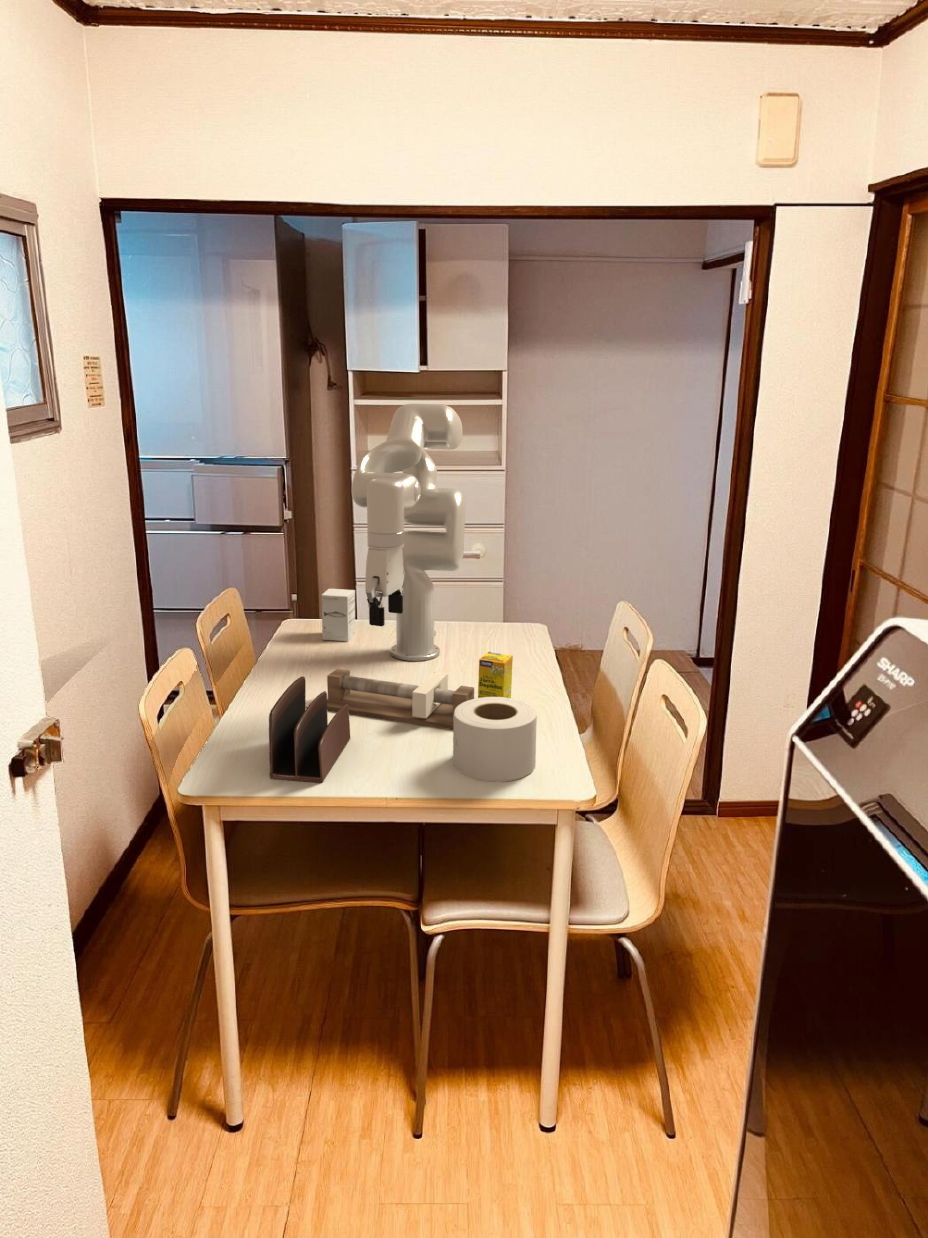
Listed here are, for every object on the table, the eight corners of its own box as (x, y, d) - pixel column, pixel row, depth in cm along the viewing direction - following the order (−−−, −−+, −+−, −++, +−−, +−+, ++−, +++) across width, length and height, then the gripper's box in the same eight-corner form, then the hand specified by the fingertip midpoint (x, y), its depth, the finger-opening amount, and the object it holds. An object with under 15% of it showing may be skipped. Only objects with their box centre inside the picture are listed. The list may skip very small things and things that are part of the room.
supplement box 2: (477, 706, 201) (478, 659, 198) (486, 697, 207) (487, 650, 204) (503, 710, 199) (504, 662, 196) (511, 700, 205) (513, 654, 202)
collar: (434, 695, 202) (434, 672, 201) (447, 696, 201) (447, 673, 200) (412, 716, 190) (412, 692, 189) (425, 718, 190) (426, 694, 188)
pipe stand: (345, 690, 209) (344, 663, 207) (478, 710, 199) (479, 681, 197) (320, 709, 198) (319, 680, 196) (460, 731, 188) (461, 701, 186)
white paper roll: (446, 778, 168) (447, 723, 165) (461, 743, 182) (462, 692, 179) (531, 786, 165) (533, 730, 162) (539, 750, 180) (541, 699, 177)
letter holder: (269, 780, 166) (265, 707, 162) (302, 736, 185) (300, 670, 181) (322, 784, 165) (320, 711, 161) (351, 739, 184) (349, 673, 180)
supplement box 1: (321, 640, 244) (320, 594, 240) (330, 632, 251) (328, 587, 247) (348, 642, 243) (347, 596, 239) (356, 634, 250) (355, 589, 246)
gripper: (385, 530, 198) (386, 606, 203) (350, 546, 182) (352, 628, 187) (418, 532, 196) (418, 610, 201) (385, 549, 180) (386, 632, 185)
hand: (386, 618), depth 194 cm, fingers open, 9 cm apart
